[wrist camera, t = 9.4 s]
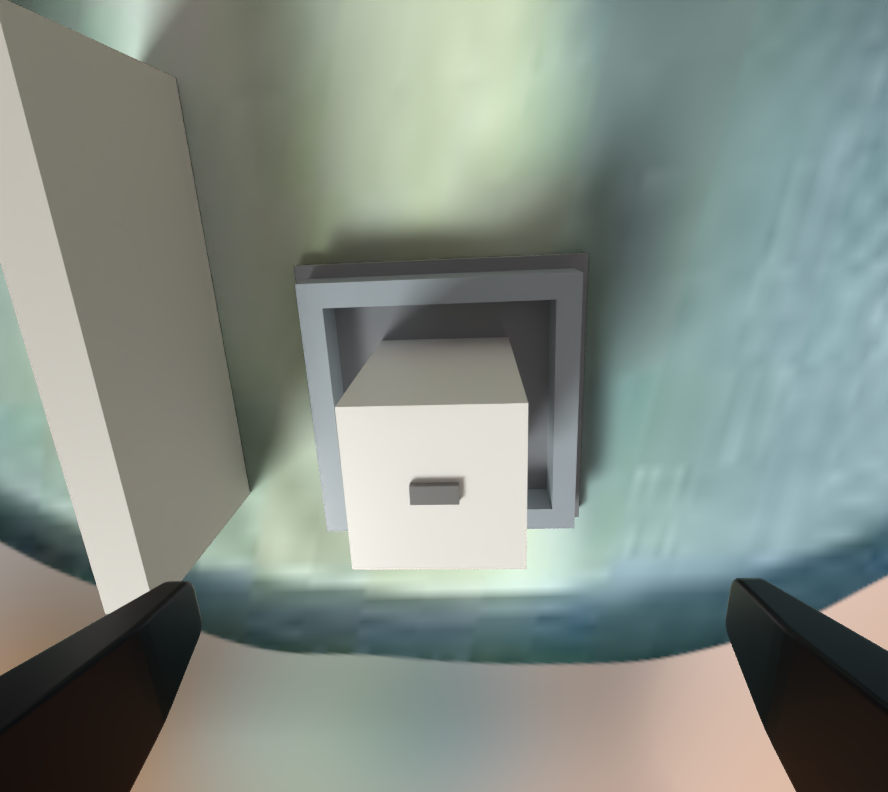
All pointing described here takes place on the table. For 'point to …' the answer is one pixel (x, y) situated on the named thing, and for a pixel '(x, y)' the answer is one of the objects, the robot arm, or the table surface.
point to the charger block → (436, 456)
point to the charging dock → (448, 317)
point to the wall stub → (116, 301)
